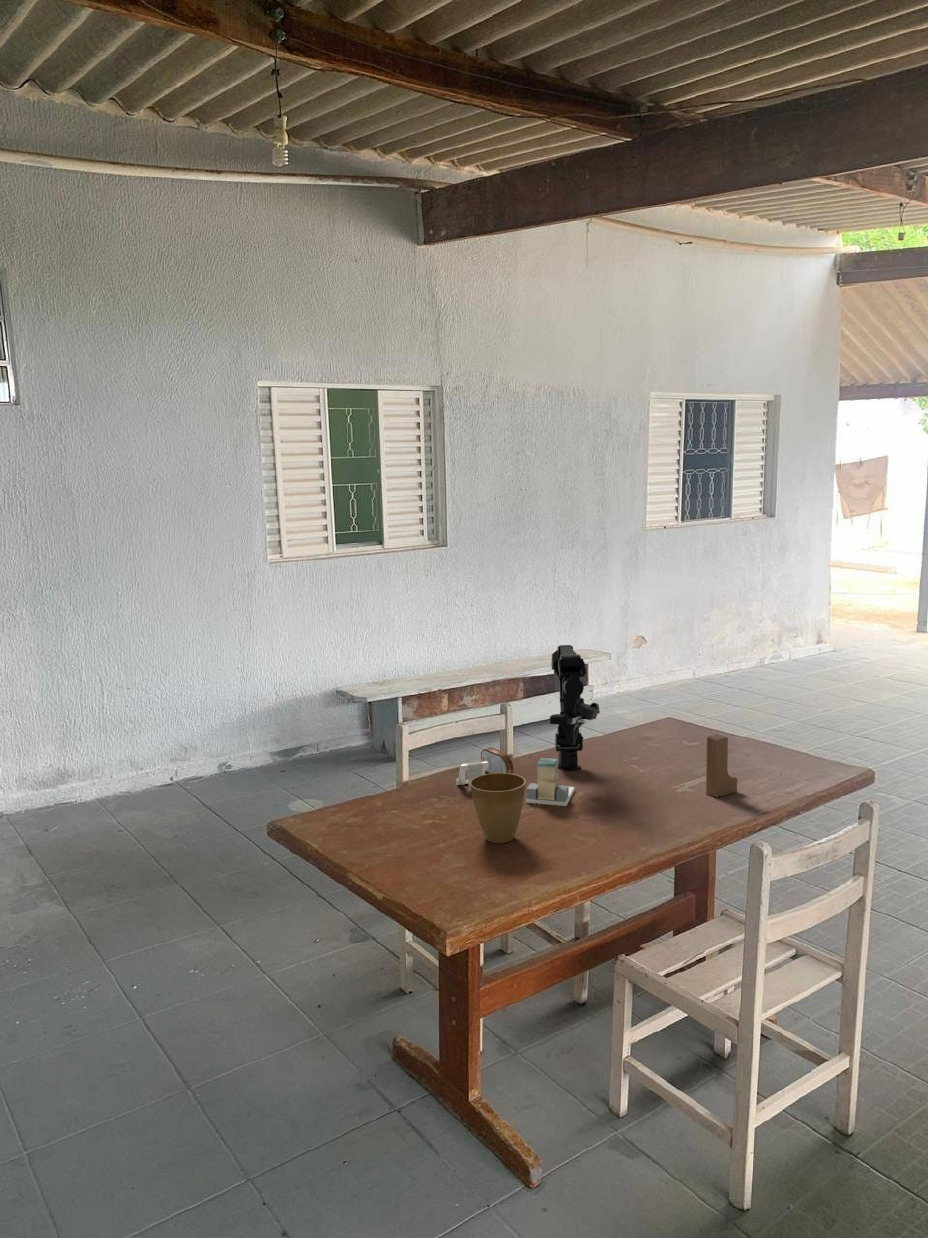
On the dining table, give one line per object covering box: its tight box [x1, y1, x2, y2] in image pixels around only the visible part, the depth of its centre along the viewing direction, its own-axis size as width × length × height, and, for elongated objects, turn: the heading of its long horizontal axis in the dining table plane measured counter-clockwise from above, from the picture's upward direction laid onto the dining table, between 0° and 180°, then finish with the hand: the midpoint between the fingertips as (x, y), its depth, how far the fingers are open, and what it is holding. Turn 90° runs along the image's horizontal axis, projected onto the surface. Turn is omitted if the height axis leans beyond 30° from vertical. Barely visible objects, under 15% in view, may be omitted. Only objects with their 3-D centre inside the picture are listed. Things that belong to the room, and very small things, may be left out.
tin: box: [480, 746, 514, 774], centre depth 300 cm, size 15×3×8 cm, turn 34°
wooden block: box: [705, 733, 738, 798], centre depth 277 cm, size 9×4×18 cm, turn 123°
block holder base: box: [525, 782, 575, 807], centre depth 279 cm, size 14×12×4 cm
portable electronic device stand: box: [455, 761, 489, 792], centre depth 289 cm, size 9×8×8 cm
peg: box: [536, 757, 559, 800], centre depth 274 cm, size 5×5×11 cm
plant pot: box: [470, 773, 527, 844], centre depth 247 cm, size 15×15×16 cm
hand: (572, 745), depth 289 cm, fingers closed
